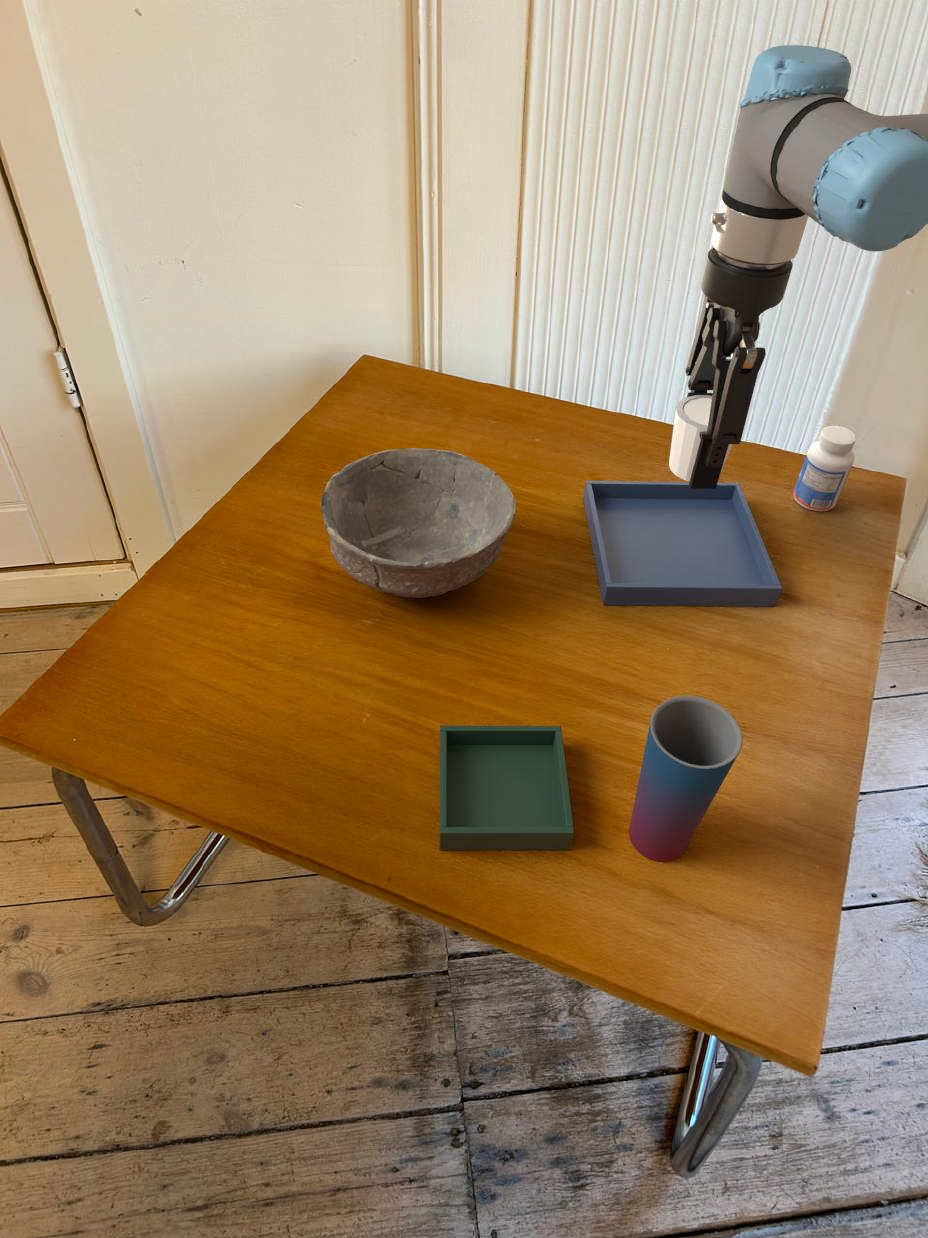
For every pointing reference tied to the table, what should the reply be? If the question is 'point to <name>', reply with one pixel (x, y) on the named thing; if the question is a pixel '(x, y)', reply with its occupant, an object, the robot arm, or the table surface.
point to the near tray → (504, 789)
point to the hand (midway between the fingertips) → (695, 465)
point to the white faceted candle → (689, 434)
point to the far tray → (677, 545)
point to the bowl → (416, 520)
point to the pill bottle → (825, 469)
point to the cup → (681, 773)
